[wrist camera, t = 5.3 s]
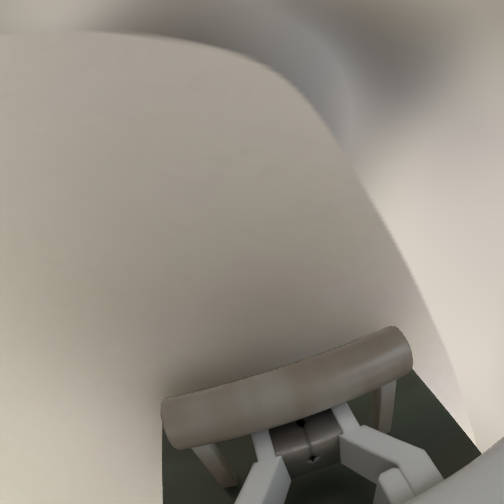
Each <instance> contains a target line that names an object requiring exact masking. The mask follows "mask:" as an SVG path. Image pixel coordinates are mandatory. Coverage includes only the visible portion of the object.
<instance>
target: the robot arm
mask: <svg viewBox="0 0 504 504" xmlns="http://www.w3.org/2000/svg"><path fill="white" fill-rule="evenodd" d="M251 436H252V440H253V444H254V448H255V452H256V456H257V460H258V462H255V463H253V465H252V467H251V470H250V472H249V474H248V476H247V478H246V480H245V482H244V485H243V487H242V489H241V491H240V493H239V495H238V497H237V499H236V501H235V503H234V504H284V502H285V499H286V496H287V493H288V490H289V486H290V483H291V479H293V478H296V477H299V476H302V475H304V474H307V473H310V472H313V471H316V470H319V469H322V468H325V467H328V466H330V465H333V464H336V463H339V462H341V463H342V464H343V465H345V466H347V467H348V468H350V469H352V470H353V471H355V472H356V473H358V474H360V475H362V476H363V477H365V478H367V479H368V480H370V481H372V482H373V483H375V484H377V487H376V491H375V496H374V500H373V504H504V437H503V438H502V439H500V440H499V441H498V442H497V443H495V444H494V445H493V446H492V447H491V448H489V449H488V450H487V451H485V452H484V453H483V454H481V455H480V456H479V457H477V458H476V459H474V460H473V461H472V462H470V463H469V464H467V465H466V466H465V467H463V468H462V469H460V470H459V471H457V472H456V473H454V474H453V475H451V476H450V477H448V478H446V479H445V480H444V478H443V477H442V475H441V474H440V472H439V471H438V469H437V468H436V466H435V465H434V463H433V462H432V460H431V459H430V457H429V456H428V454H427V453H426V452H425V450H423V449H421V448H418V447H416V446H413V445H411V444H408V443H406V442H403V441H401V440H398V439H396V438H394V437H391V436H389V435H386V434H384V433H382V432H380V431H377V430H375V429H373V428H371V427H368V426H366V425H362V426H360V425H359V424H358V422H357V420H356V418H355V417H354V415H353V413H352V411H351V410H350V408H349V406H348V404H347V403H346V402H345V403H342V404H340V405H337V406H335V407H332V408H329V409H327V410H324V411H321V412H319V413H316V414H313V415H310V416H308V417H305V418H302V419H299V420H296V421H293V422H290V423H287V424H284V425H280V426H277V427H274V428H271V429H267V430H264V431H260V432H257V433H253V434H251Z"/></svg>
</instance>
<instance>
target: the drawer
mask: <svg viewBox="0 0 504 504" xmlns="http://www.w3.org/2000/svg"><path fill="white" fill-rule="evenodd" d="M412 366H413V358H412V353H411V349H410V346H409V344H408V341H407V339H406V338H405V336H404V334H403V333H402V332H401V331H400V330H399V329H398V328H397V327H395V326H389V327H386V328H384V329H382V330H379V331H377V332H375V333H372V334H370V335H367V336H365V337H363V338H360V339H358V340H355V341H353V342H350V343H348V344H345V345H342V346H340V347H337V348H335V349H332V350H329V351H327V352H324V353H321V354H318V355H316V356H313V357H310V358H307V359H304V360H302V361H299V362H296V363H293V364H290V365H287V366H284V367H281V368H278V369H274V370H271V371H268V372H265V373H262V374H258V375H255V376H252V377H248V378H245V379H242V380H238V381H234V382H231V383H227V384H224V385H220V386H216V387H212V388H208V389H205V390H201V391H196V392H192V393H188V394H184V395H180V396H175V397H171V398H166V399H164V400H163V401H162V403H161V419H162V485H163V504H234V503H235V501H236V499H237V497H238V495H239V493H240V491H241V489H242V487H243V485H244V482H245V480H246V478H247V476H248V474H249V472H250V470H251V467H252V465H253V463H255V462H258V460H257V456H256V452H255V448H254V444H253V440H252V436H251V434H253V433H257V432H260V431H264V430H267V429H271V428H274V427H277V426H280V425H284V424H287V423H290V422H293V421H296V420H299V419H302V418H305V417H308V416H310V415H313V414H316V413H319V412H321V411H324V410H327V409H329V408H332V407H335V406H337V405H340V404H342V403H345V402H346V403H347V404H348V406H349V408H350V410H351V411H352V413H353V415H354V417H355V418H356V420H357V422H358V424H359V425H360V426H362V425H366V426H368V427H371V428H373V429H375V430H377V431H380V432H382V433H384V434H386V435H389V436H391V437H394V438H396V439H398V440H401V441H403V442H406V443H408V444H411V445H413V446H416V447H418V448H421V449H423V450H425V452H426V453H427V454H428V456H429V457H430V459H431V460H432V462H433V463H434V465H435V466H436V468H437V469H438V471H439V472H440V474H441V475H442V477H443V478H444V480H445V479H446V478H448V477H450V476H451V475H453V474H454V473H456V472H457V471H459V470H460V469H462V468H463V467H465V466H466V465H467V464H469V463H470V462H472V461H473V460H474V459H476V458H477V457H479V456H480V455H481V452H480V451H479V450H478V449H477V447H476V446H475V445H474V443H473V442H472V441H471V440H470V438H469V437H468V436H467V435H466V433H465V432H464V431H463V430H462V428H461V427H460V426H459V425H458V423H457V422H456V421H455V420H454V418H453V417H452V416H451V415H450V414H449V412H448V411H447V410H446V409H445V407H444V406H443V405H442V404H441V403H440V401H439V400H438V399H437V398H436V397H435V395H434V394H433V393H432V392H431V391H430V389H429V388H428V387H427V386H426V385H425V383H424V382H423V381H422V380H421V379H420V377H419V376H418V375H417V374H416V373H415V372H414V370H413V369H412ZM376 487H377V484H375V483H373V482H372V481H370V480H368V479H367V478H365V477H363V476H362V475H360V474H358V473H356V472H355V471H353V470H352V469H350V468H348V467H347V466H345V465H343V464H342V463H341V462H339V463H336V464H333V465H330V466H328V467H325V468H322V469H319V470H316V471H313V472H310V473H307V474H304V475H302V476H299V477H296V478H293V479H291V483H290V486H289V490H288V493H287V496H286V499H285V502H284V504H373V500H374V496H375V491H376Z"/></svg>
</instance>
